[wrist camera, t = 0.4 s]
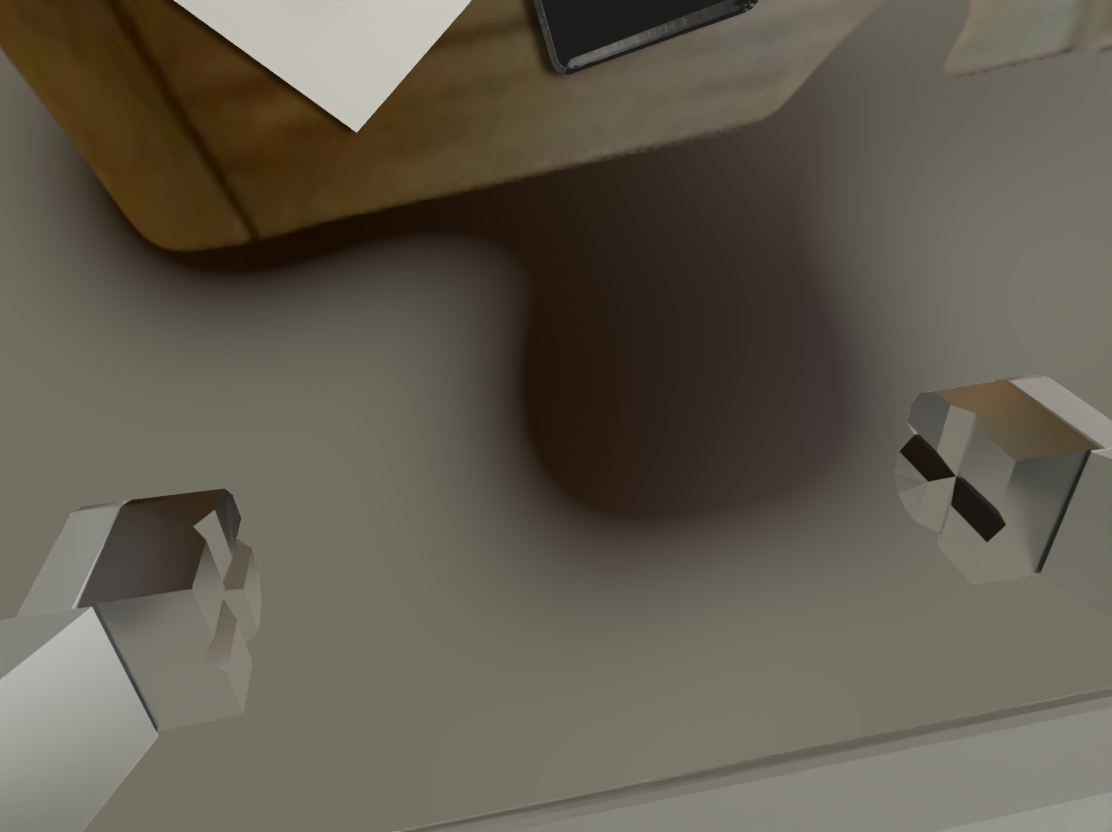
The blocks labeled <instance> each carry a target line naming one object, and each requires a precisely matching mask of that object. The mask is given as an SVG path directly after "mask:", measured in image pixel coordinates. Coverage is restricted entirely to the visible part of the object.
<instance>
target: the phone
mask: <svg viewBox="0 0 1112 832" xmlns="http://www.w3.org/2000/svg"><path fill="white" fill-rule="evenodd" d="M533 1H534V5H535V8H536V12H537V15H538V19H539V22H540V26H541V29H542V33H543V36H544V39H545V43H546V46H547V50H548V53H549V57H550V60H551V63H552V65H553V67H554V69H555V70H556V71H557V72H559V73H561V74H565V75H568V74H572V73H575V72H578V71H581V70H584V69H586V68H589V67H592V66H595V65H598V64H600V63H603V62H606V61H609V60H612V59H615V58H617V57H620V56H623V55H626V54H629V53H632V52H634V51H637V50H640V49H643V48H646V47H648V46H651V45H654V44H657V43H660V42H663V41H665V40H668V39H671V38H674V37H677V36H680V35H682V34H685V33H688V32H691V31H694V30H696V29H699V28H702V27H705V26H708V25H711V24H713V23H716V22H719V21H722V20H725V19H727V18H730V17H733V16H736V15H739V14H742V13H744V12H747V11H749V10H751V9H752V8H753V7H754V6H755V5H756V3H757V2H758V0H533Z"/></svg>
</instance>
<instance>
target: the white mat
mask: <svg viewBox="0 0 1112 832" xmlns="http://www.w3.org/2000/svg"><path fill="white" fill-rule="evenodd" d="M174 1H175V2H177V3H178V4H180V5H181V6H182V7H184V8H185V9H186V10H188V11H189V12H191V13H192V14H193V15H195V16H196V17H198V18H199V19H200V20H202V21H203V22H204V23H206V24H207V25H209V26H210V27H211V28H213V29H214V30H216V31H217V32H218V33H220V34H221V35H222V36H224V37H225V38H227V39H228V40H229V41H231V42H232V43H233V44H235V45H236V46H238V47H239V48H240V49H242V50H243V51H245V52H246V53H247V54H249V55H250V56H251V57H253V58H254V59H256V60H257V61H258V62H260V63H261V64H263V65H264V66H265V67H267V68H268V69H269V70H271V71H272V72H274V73H275V74H276V75H278V76H279V77H281V78H282V79H283V80H285V81H286V82H287V83H289V84H290V85H292V86H293V87H294V88H296V89H297V90H298V91H300V92H301V93H303V94H304V95H305V96H307V97H308V98H310V99H311V100H312V101H314V102H315V103H316V104H318V105H319V106H321V107H322V108H323V109H325V110H326V111H328V112H329V113H330V114H332V115H333V116H334V117H336V118H337V119H339V120H340V121H341V122H343V123H344V124H346V125H347V126H348V127H350V128H351V129H352V130H354V131H355V132H358V130H359V129H360V128H361V127H362V126H363V125H364V124H365V122H366V121H367V120H368V119H369V118H370V117H371V116H372V114H373V113H374V112H375V111H376V110H377V109H378V107H379V106H380V105H381V104H382V103H383V102H384V101H385V99H386V98H387V97H388V96H389V95H390V94H391V92H392V91H393V90H394V89H395V88H396V87H397V86H398V84H399V83H400V82H401V81H402V80H403V79H404V77H405V76H406V75H407V74H408V73H409V72H410V71H411V69H412V68H413V67H414V66H415V65H416V64H417V63H418V61H419V60H420V59H421V58H422V57H423V56H424V54H425V53H426V52H427V51H428V50H429V49H430V48H431V46H432V45H433V44H434V43H435V42H436V41H437V39H438V38H439V37H440V36H441V35H442V34H443V33H444V31H445V30H446V29H447V28H448V27H449V26H450V24H451V23H452V22H453V21H454V20H455V19H456V18H457V16H458V15H459V14H460V13H461V12H462V11H463V10H464V8H465V7H466V6H467V5H468V4H469V3H470V1H471V0H174Z"/></svg>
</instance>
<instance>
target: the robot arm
mask: <svg viewBox="0 0 1112 832" xmlns="http://www.w3.org/2000/svg"><path fill="white" fill-rule="evenodd" d="M907 423H908V425H909V427H910V428H911V430H912V432H913V433H914V436H913V437H912V438H911V439H910V440H909V441H908V442H907V443H906V445H905V446H904V447H903V448H902V449H901V450H900V451H899V455H898V460H897V465H896V470H895V478H896V483H897V490H898V494H899V496H900V499H901V501H902V503H903V505H904V507H905V509H906V510H907V511H908V512H909V514H910V515H911V516H912V517H913V518H914V520H915V521H916V522H917V523H919V524H921V525H924V526H925V527H927V528H930V529H932V530H934V531H936V532H938V533H939V546H938V547H939V548H940V549H941V551H942V552H943V553H944V554H945V555H946V556H947V557H948V558H949V559H950V561H952V563H953V564H954V565H955V566H956V567H957V568H958V569H959V571H960V572H961V573H962V574H963V575H964V576H965V577H966V578H967V580H968V581H969V582H970V583H971V584H972V585H976V584H984V583H990V582H997V581H1004V580H1011V579H1017V578H1024V577H1031V576H1038V575H1040V576H1039V578H1038V579H1040V580H1042V581H1043V582H1045V583H1047V584H1049V585H1050V586H1052V587H1054V588H1056V589H1057V590H1059V591H1061V592H1063V593H1065V594H1067V595H1068V596H1070V597H1072V598H1074V599H1075V600H1077V601H1079V602H1081V603H1082V604H1084V605H1086V606H1088V607H1089V608H1091V609H1093V610H1095V611H1096V612H1098V613H1100V614H1102V615H1104V616H1106V617H1107V618H1109V619H1111V620H1112V421H1111V420H1110V419H1109V418H1107V417H1106V416H1104V415H1103V414H1101V413H1100V412H1098V411H1097V410H1095V409H1094V408H1092V407H1091V406H1090V405H1088V404H1087V403H1085V402H1084V401H1082V400H1081V399H1079V398H1078V397H1076V396H1075V395H1074V394H1072V393H1070V392H1069V391H1068V390H1066V389H1065V388H1063V387H1062V386H1061V385H1059V384H1057V383H1056V382H1055V381H1053V380H1052V379H1050V378H1049V377H1046V376H1041V375H1037V374H1029V375H1023V376H1017V377H1012V378H1006V379H1000V380H996V381H994V382H988V383H981V384H975V385H969V386H961V387H955V388H948V389H941V390H935V391H928V392H922V393H919V395H918V396H917V397H916V398H915V400H914V401H913V403H912V404H911V407H910V411H909V415H908V419H907ZM240 521H241V516H240V513H239V511H238V508H237V505H236V503H235V500H234V497H233V495H232V494H231V493H230V492H229V491H227V490H226V489H218V490H210V491H201V492H194V493H193V492H192V493H184V494H176V495H167V496H159V497H151V498H142V499H134V500H130V501H118V502H112V503H104V504H97V505H90V506H82V507H80V508H78V509H76V510H74V511H73V512H71V513H70V515H69V516H68V518H67V520H66V522H65V524H64V526H63V527H62V530H61V531H60V533H59V535H58V537H57V539H56V541H55V543H54V544H53V546H52V548H51V550H50V552H49V554H48V556H47V558H46V560H45V562H44V564H43V565H42V567H41V570H40V571H39V573H38V575H37V577H36V579H35V581H34V582H33V584H32V586H31V588H30V590H29V592H28V594H27V596H26V598H25V600H24V601H23V604H22V605H21V607H20V609H19V611H18V613H17V615H16V617H15V618H14V619H8V620H1V621H0V832H83V831H84V829H85V828H86V827H87V826H88V824H89V823H90V822H91V820H92V819H93V818H94V817H95V815H96V814H97V813H98V811H99V810H100V809H101V808H102V807H103V805H104V804H105V803H106V802H107V800H108V799H109V798H110V796H111V795H112V794H113V793H114V792H115V790H116V789H117V788H118V787H119V785H120V784H121V783H122V781H123V780H124V779H125V778H126V777H127V775H128V774H129V772H130V771H131V770H132V769H133V768H134V766H135V765H136V764H137V763H138V761H139V760H140V759H141V758H142V756H143V755H144V754H145V753H146V751H147V750H148V749H149V748H150V746H151V745H152V744H153V742H154V741H155V740H156V739H157V737H158V734H157V732H159V731H164V730H169V729H174V728H179V727H184V726H189V725H194V724H198V723H204V722H208V721H213V720H218V719H223V718H228V717H232V716H238V715H243V714H244V708H245V702H246V697H247V692H248V685H249V680H250V675H251V669H252V664H253V663H252V660H251V657H250V654H249V652H248V649H247V646H246V643H247V642H248V641H249V640H250V639H251V638H252V637H253V636H254V634H255V633H256V632H257V631H258V628H259V622H260V614H261V584H260V579H259V574H258V568H257V564H256V561H255V558H254V555H253V551H252V548H250V547H249V546H247V545H246V544H244V543H243V542H241V541H240V540H238V539H237V535H238V531H239V526H240ZM393 832H1112V687H1107V688H1102V689H1097V690H1092V691H1087V692H1082V693H1077V694H1072V695H1068V696H1062V697H1058V698H1052V699H1048V700H1043V701H1038V702H1033V703H1028V704H1023V705H1018V706H1013V707H1008V708H1003V709H998V710H993V711H988V712H983V713H978V714H973V715H969V716H964V717H959V718H954V719H949V720H944V721H939V722H934V723H929V724H924V725H919V726H914V727H909V728H905V729H899V730H895V731H889V732H884V733H880V734H875V735H870V736H865V737H860V738H855V739H850V740H845V741H840V742H835V743H830V744H825V745H820V746H815V747H810V748H805V749H800V750H795V751H791V752H785V753H780V754H775V755H770V756H765V757H760V758H756V759H750V760H745V761H741V762H736V763H731V764H726V765H721V766H716V767H711V768H706V769H701V770H696V771H692V772H686V773H681V774H676V775H671V776H666V777H661V778H657V779H651V780H646V781H642V782H636V783H631V784H626V785H621V786H616V787H611V788H607V789H601V790H596V791H592V792H587V793H582V794H577V795H572V796H567V797H562V798H557V799H552V800H547V801H542V802H537V803H532V804H527V805H522V806H518V807H512V808H507V809H503V810H497V811H492V812H487V813H483V814H478V815H473V816H468V817H463V818H458V819H453V820H448V821H443V822H438V823H433V824H428V825H423V826H418V827H413V828H408V829H403V830H398V831H393Z"/></svg>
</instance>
